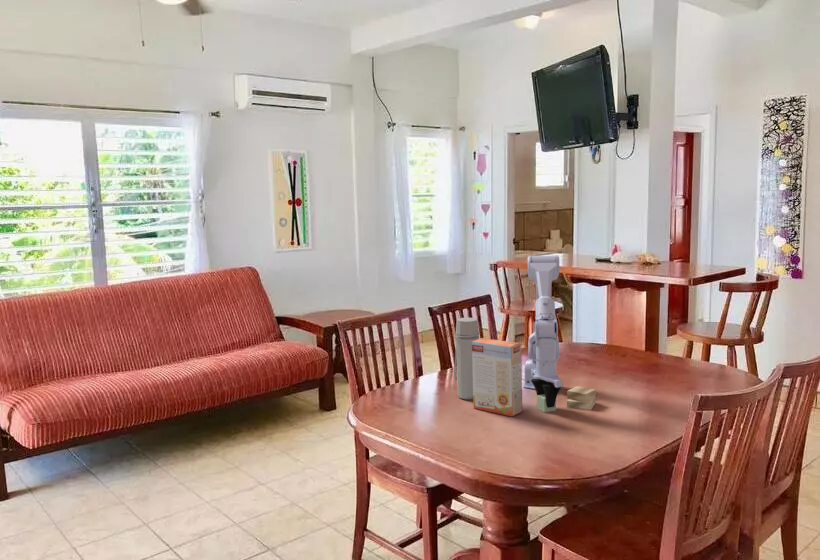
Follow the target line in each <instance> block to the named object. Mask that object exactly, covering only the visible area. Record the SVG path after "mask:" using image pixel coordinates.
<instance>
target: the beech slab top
mask: <svg viewBox="0 0 820 560" xmlns="http://www.w3.org/2000/svg"><path fill="white" fill-rule="evenodd" d="M566 391H567V394H566V395H567V397H566V398H567V400H568V399H571V400H576V401H581V402H588V401H589V400H591V399H593V398H595V399H596V389H595V388H590V387H584V386H578V385H577V386H574V387H573V388H571V389H568V390H566Z"/></svg>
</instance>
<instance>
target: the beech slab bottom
mask: <svg viewBox="0 0 820 560" xmlns="http://www.w3.org/2000/svg"><path fill="white" fill-rule="evenodd" d="M595 404H596V397H595V398H593V399H591V400H589V401H588V402H581V401H576V400H571V399H567V400H566V408H569V409H570V408H571V409H579V410H587V411H588V410H589V411H591V410H593V408H594V406H595Z"/></svg>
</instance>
